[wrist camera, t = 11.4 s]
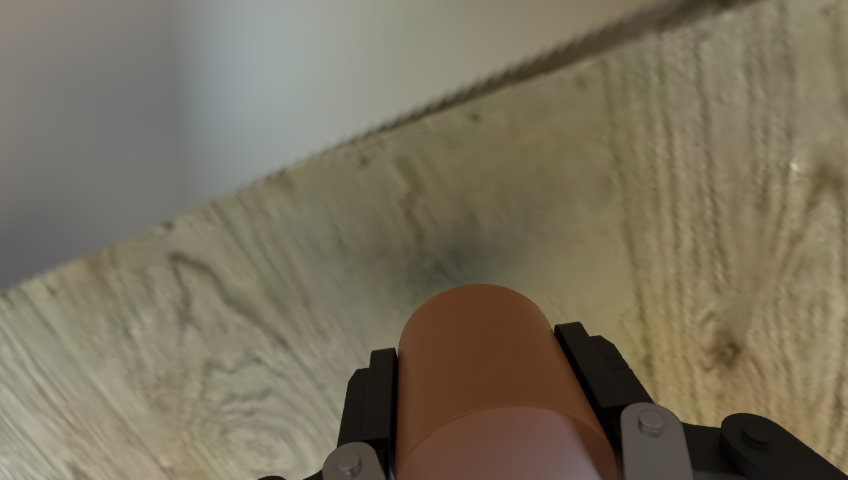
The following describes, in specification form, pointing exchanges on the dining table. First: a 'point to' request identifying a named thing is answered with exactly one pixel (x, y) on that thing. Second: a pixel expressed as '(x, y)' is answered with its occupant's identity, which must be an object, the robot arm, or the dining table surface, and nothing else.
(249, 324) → the dining table surface
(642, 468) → the robot arm
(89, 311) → the dining table surface
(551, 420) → the copper tin
